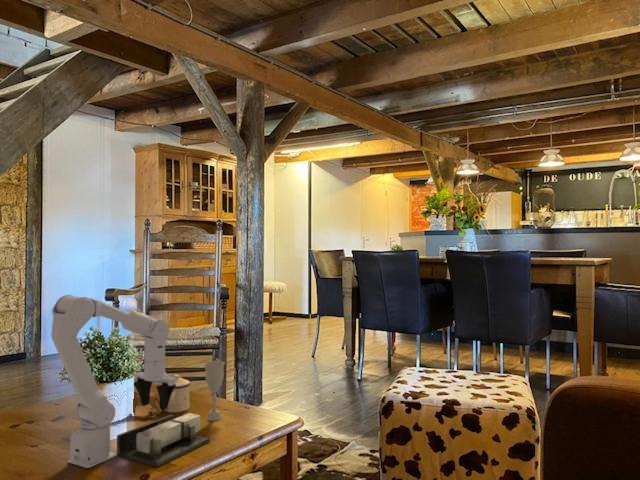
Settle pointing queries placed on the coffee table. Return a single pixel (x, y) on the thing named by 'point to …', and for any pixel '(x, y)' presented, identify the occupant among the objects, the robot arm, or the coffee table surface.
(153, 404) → the lion figurine
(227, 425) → the coffee table surface
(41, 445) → the coffee table surface
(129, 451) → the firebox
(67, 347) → the robot arm
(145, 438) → the cream rectangular block
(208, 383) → the chalice
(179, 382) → the teacup with lid
